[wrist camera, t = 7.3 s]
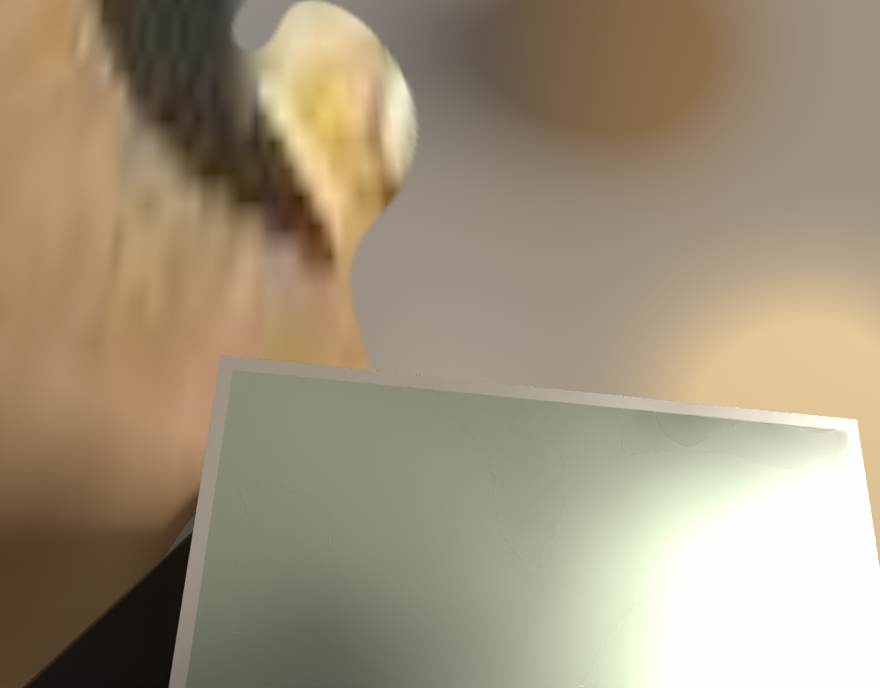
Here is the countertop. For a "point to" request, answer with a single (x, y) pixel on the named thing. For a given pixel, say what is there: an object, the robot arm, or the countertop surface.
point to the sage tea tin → (520, 539)
